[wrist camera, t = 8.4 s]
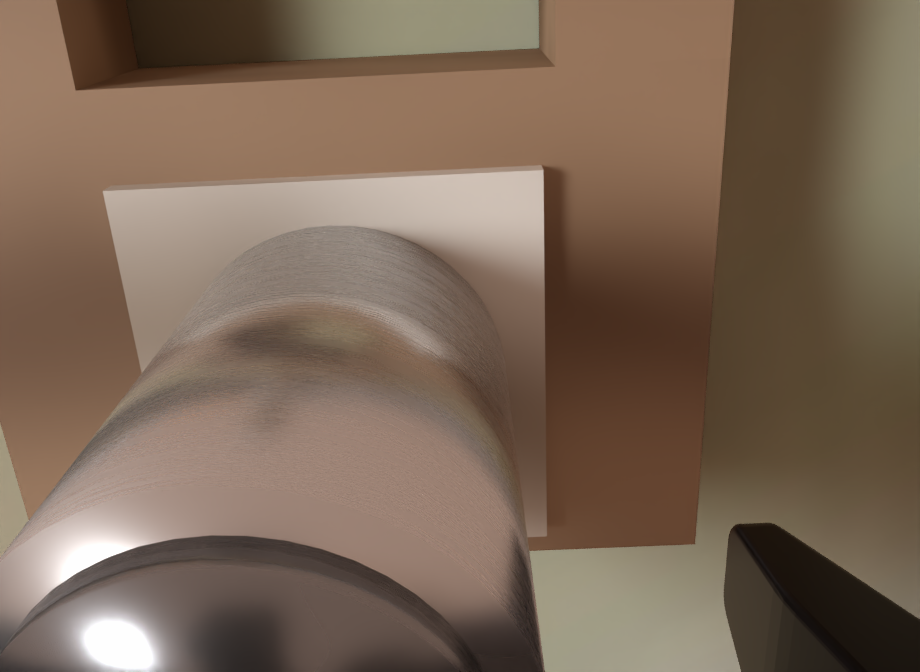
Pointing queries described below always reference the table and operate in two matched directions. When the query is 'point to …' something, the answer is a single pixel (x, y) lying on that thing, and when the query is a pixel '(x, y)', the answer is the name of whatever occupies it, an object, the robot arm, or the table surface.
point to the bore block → (386, 226)
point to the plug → (293, 485)
